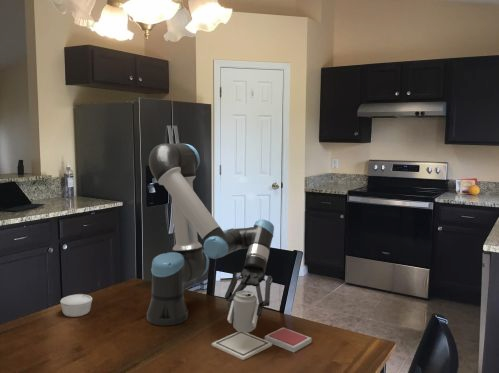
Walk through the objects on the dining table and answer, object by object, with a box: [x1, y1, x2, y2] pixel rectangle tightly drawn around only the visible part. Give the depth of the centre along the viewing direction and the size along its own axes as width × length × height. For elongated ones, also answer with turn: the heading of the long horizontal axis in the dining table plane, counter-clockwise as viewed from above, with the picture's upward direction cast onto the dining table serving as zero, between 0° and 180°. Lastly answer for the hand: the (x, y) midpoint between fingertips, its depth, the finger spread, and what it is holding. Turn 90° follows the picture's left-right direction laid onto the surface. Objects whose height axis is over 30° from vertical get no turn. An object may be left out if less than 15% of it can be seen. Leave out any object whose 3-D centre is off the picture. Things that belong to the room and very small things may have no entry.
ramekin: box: [59, 293, 93, 318], centre depth 174 cm, size 11×11×5 cm
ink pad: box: [264, 327, 312, 353], centre depth 154 cm, size 12×10×2 cm
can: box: [232, 289, 258, 333], centre depth 149 cm, size 8×8×12 cm
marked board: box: [211, 331, 273, 361], centre depth 150 cm, size 14×14×1 cm
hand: (241, 323), depth 146 cm, fingers closed on can, 7 cm apart
